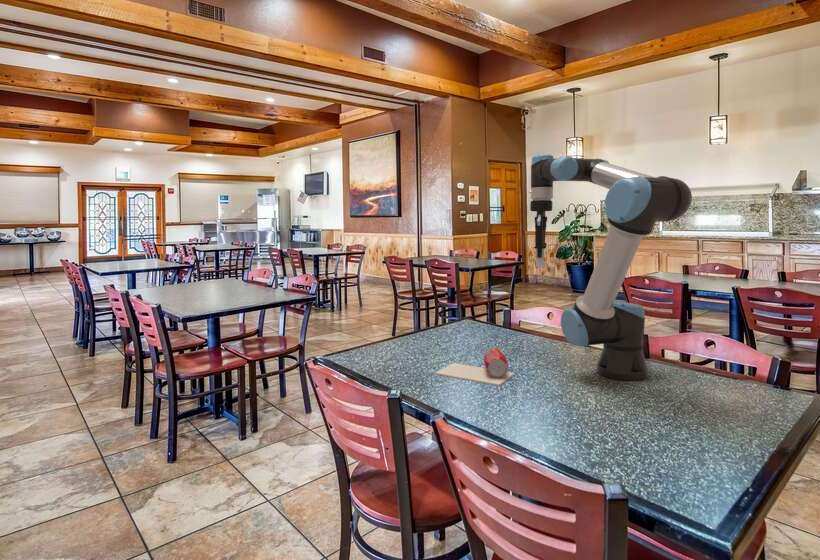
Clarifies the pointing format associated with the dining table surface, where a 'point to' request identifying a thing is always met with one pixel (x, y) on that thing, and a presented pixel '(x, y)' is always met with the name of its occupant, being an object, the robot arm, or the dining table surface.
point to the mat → (472, 374)
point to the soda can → (495, 362)
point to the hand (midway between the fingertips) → (539, 266)
